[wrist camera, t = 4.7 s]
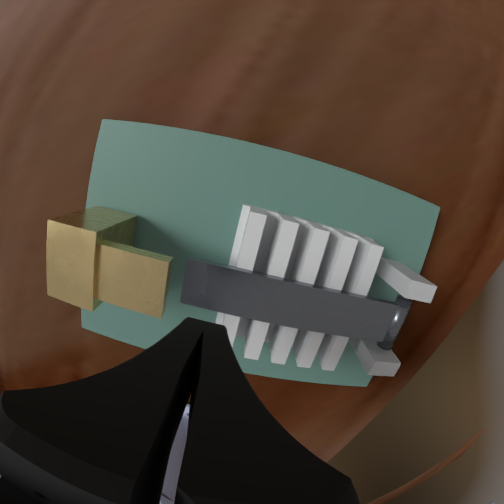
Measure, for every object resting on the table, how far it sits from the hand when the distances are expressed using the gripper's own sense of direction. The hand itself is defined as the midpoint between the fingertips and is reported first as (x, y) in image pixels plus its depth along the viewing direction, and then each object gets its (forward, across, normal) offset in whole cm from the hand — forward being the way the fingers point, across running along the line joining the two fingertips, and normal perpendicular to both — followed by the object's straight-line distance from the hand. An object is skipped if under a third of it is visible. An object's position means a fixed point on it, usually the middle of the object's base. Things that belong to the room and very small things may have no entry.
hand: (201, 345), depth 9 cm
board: (+9, -2, 0) cm, 10 cm away
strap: (+6, -5, 0) cm, 7 cm away
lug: (+8, +5, 0) cm, 10 cm away
